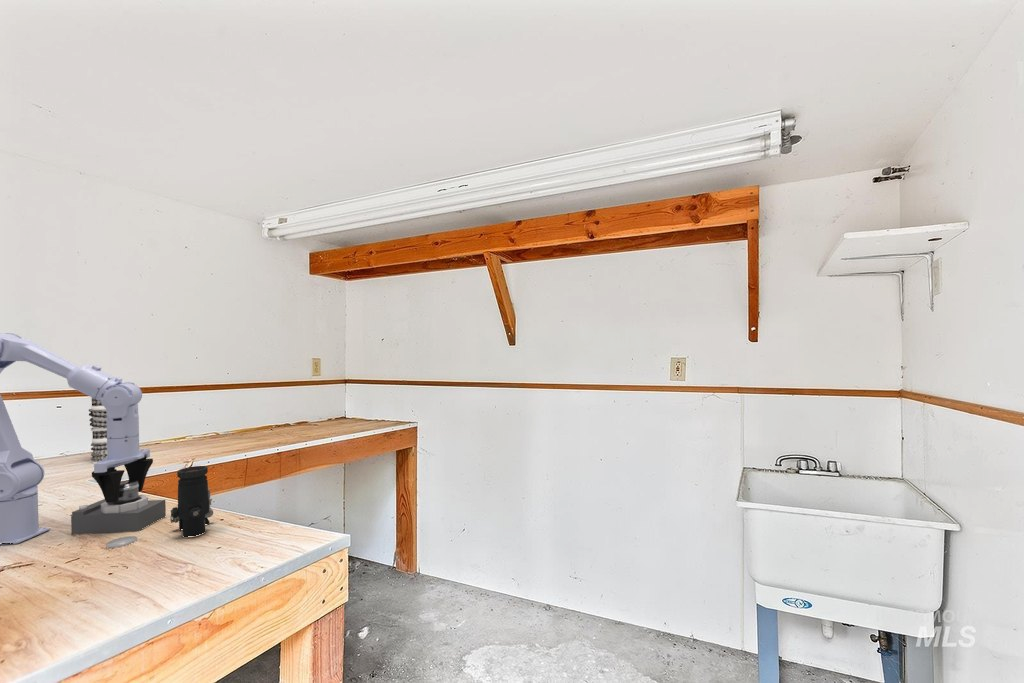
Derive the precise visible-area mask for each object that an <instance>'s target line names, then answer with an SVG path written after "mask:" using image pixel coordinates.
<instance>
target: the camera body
mask: <svg viewBox="0 0 1024 683" xmlns="http://www.w3.org/2000/svg"><path fill="white" fill-rule="evenodd" d="M166 507H167V506H166V499H152V500H151V499H150V500H149V497H148V496H147V495H145V494H139V500H137V501H135V502H131V503H126V504H122V505H114V502H110V503H106V501H105V498H103V499H100V500H98V501H96V502H94V503H92V504H89V505H88V504H81V505H79V506H78V509H76V510H74V511H72V512H71V515H70V522H71V523H70V525H71V527H70V529H71V530H70V531H71V535H84V534H85V533H91V534H107V533H108V532H111V533H124V531H131V532H140V531H142V530H143V529H142V528H144V527H146V526H148V525H149V526H151V525H152V524H151V523H153V522H155V521H157V520H159V519H160V520H162V519H164V518H166V517H167V516H166V514H167V512H166ZM165 516H166V517H165ZM163 517H164V518H163ZM161 518H162V519H161ZM160 520H159V521H160ZM157 522H158V521H157ZM155 523H156V522H155ZM150 524H151V525H150ZM153 524H154V523H153ZM149 526H148V527H149ZM146 528H147V527H146ZM141 529H142V530H141ZM144 529H145V528H144ZM139 530H140V531H139ZM108 534H109V533H108Z"/></svg>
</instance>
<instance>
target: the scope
mask: <svg viewBox="0 0 1024 683" xmlns="http://www.w3.org/2000/svg"><path fill="white" fill-rule="evenodd" d="M208 468H209V467H208V466H206V465H195V466H188V467H184V468H183V467H182V468H181V469H178V470H177V473H176V474H177V478H179V479H178V480H177V506H173V507H172V509H170V520H169V521H170V524H173V523H174V524H176V523H178V529H180V530H181V529H183V530H182V537H183V536H184V537H188V536H196V535H199V534H202V533H204V532H205V533H206V525H205V524H208V525H210V520H209V518H211V517H213V515H214V509H212V507H211V506H212V501H213V499H212V498H211V489H210V488H209V482H208V475H207V474H208V470H209V469H208ZM180 530H179V531H180ZM205 533H204V534H205ZM184 537H183V538H184Z"/></svg>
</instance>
